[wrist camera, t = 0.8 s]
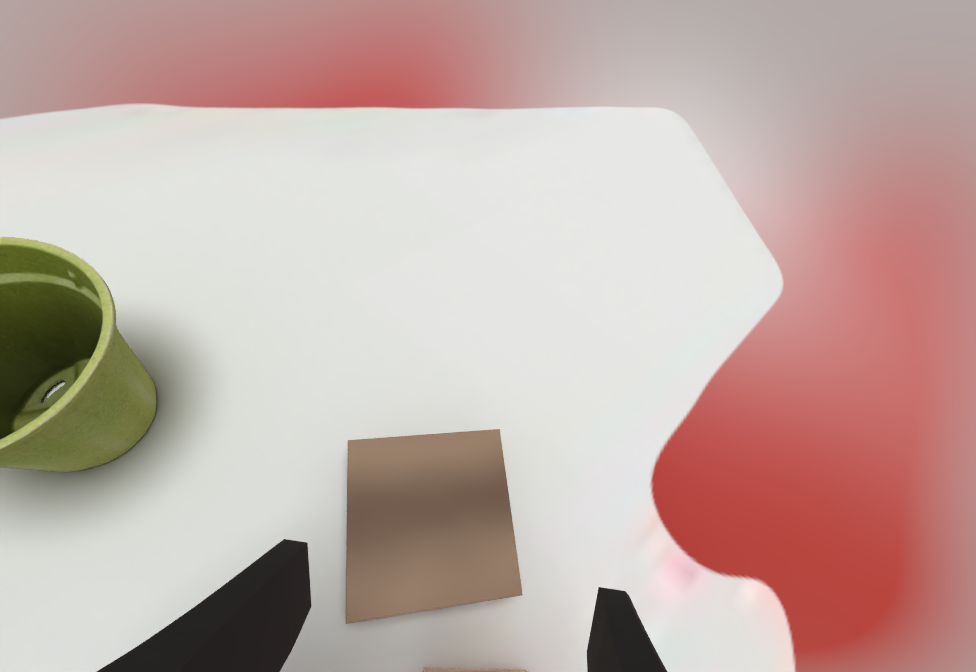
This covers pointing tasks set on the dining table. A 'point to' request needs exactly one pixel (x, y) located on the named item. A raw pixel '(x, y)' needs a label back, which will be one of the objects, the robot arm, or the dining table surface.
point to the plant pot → (64, 364)
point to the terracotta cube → (468, 670)
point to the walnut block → (427, 524)
